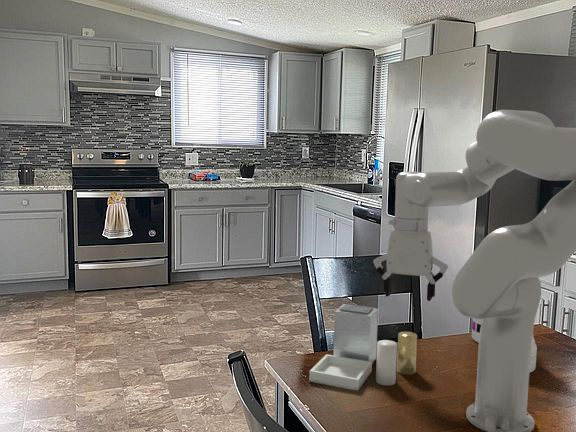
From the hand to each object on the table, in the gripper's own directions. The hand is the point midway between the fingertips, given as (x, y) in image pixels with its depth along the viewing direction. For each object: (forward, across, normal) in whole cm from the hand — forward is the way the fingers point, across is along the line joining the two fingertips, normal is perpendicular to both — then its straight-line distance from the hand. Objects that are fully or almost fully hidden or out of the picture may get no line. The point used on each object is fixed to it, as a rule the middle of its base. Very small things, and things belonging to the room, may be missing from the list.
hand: (408, 297), depth 135 cm
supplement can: (+18, +16, +31) cm, 39 cm away
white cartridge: (+18, -3, -8) cm, 20 cm away
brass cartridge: (+18, 0, 0) cm, 18 cm away
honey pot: (+18, +22, +16) cm, 33 cm away
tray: (+18, -13, -10) cm, 24 cm away
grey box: (+18, -13, +1) cm, 22 cm away
